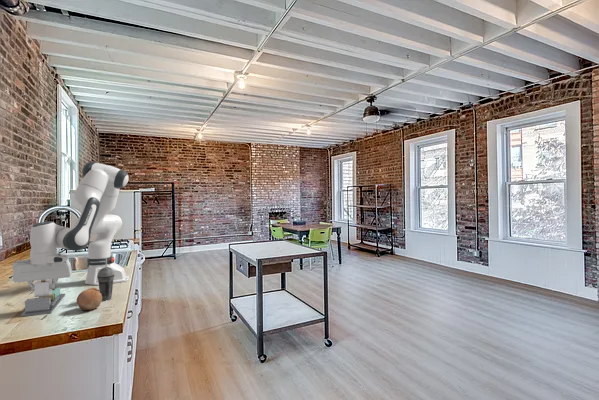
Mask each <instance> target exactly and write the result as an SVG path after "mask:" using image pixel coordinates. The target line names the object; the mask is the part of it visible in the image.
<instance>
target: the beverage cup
mask: <svg viewBox="0 0 599 400" xmlns="http://www.w3.org/2000/svg"><path fill="white" fill-rule="evenodd" d="M114 275H115V274H114V271H113V270H112V269H111V268H109V267H107V258H106V267H104V268H102V269H101V270H100V271H99V272H98V276H97V277H98V281H99V285H98V290H99V292H100V293H101V294H102V301H101V302H106V300H107V301H110V300H112V297H113V296H112V295H113V288H114V283H113V279H114Z"/></svg>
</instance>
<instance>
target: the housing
mask: <svg viewBox="0 0 599 400" xmlns="http://www.w3.org/2000/svg"><path fill="white" fill-rule="evenodd" d="M51 284H52V279H47V280H36V281H35V283H34V286H35V291H34V298H39V297H41V296H49V295H50V294H51V293H52V289H50V285H51Z"/></svg>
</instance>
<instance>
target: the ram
mask: <svg viewBox="0 0 599 400" xmlns="http://www.w3.org/2000/svg"><path fill="white" fill-rule="evenodd" d="M54 282H55V281H53V279H52V284H53V283H54ZM56 284H57V283H56ZM56 284H55V288H54V289H52V293H51V294H50V295H49V296H41V297H50V296H51V300H54V299H55V298H56V297H57V296H59V295H60V294H61V287H57V286H56ZM41 297H38V298H41Z"/></svg>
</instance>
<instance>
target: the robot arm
mask: <svg viewBox="0 0 599 400" xmlns="http://www.w3.org/2000/svg"><path fill="white" fill-rule="evenodd" d="M81 173H82V179H81V181H80V182H79V183H78V186H77V187H76V189H75V191H74V195H73V197H74V199H75V202H76V203H77V204H79V205H80V206H81V213H80V215H79V217H78V218H77V219H76V220H75V221H74V227H66V226H62V225H60V224H57V223H55V222H53V221H52V220H51V221H49V220H48V221H41V222H36V223H35V224H33V225H32V226H31V229H30V234H29V244H30V247H31V248H30V251H29V259H18V260H17V261H14V262H13V264H12V270H13V274H12V281H13V282H14V283H26V282H27V284H28V286H29V287H30V288H31V289H30V290H31V292H35V284H34V281H35V282H37V281H39V280H49V279H53V281H55V282H54V283H53V284H51V285H50V289H54V288H55V284H57V283H58V280H59V279H64V278H65V279H66V278H67V279H68V278H70V277H71V275H72V273H73V270H72V265H71V262H70V261H69V255H67V254H63V253H59V252H57V249H59V248H60V249H63V250H64V249H66V250H71V251H73V252H77V251H81V250H84V249H85V248H86V247H87V248H88V249H87V250H88V251H87V255H88V256H87V258H86V259H87V260H86V267H87V271H86V277H85V281H84V283H85V285H93V286H99V281H98V277H97V276H98V272H99V271H100V270H101V269H102V268H104V267H106V258H107V267H109V268H111V269H112V270H113V271H114V274H115V275H114V279H113V284H117V283H124V282H127V281H129V280H130V275H128V274H126V271H125V268H124V267H123V266H122V265H120V264H117V263H116V262H115V260H116V257H114V256H112V255H111V253H112V252H111V249H112V242H113V239H114V237H115V235H116V234H117V232H119V231H120V230H121V229H122V226H123V220H122V218H121V217H120V215H116V214H109V213H110V212H111V211H113V210H115V208H116V205H117V202H118V198H119V193H120V190H121V189H123V188H125V187H126V186H127V184H128V182H129V177H130V176H129V173H128V172H127V171H126V170H124V169H120V168H118V167H116V166H113V165H109V164H104V163H101V162H100V163H99V162H98V161H89V162H87V163H85V164H84V165H83V168H82V170H81ZM92 235H96V236H95V239H94V240H91V236H92ZM90 241H91V242H90Z"/></svg>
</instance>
